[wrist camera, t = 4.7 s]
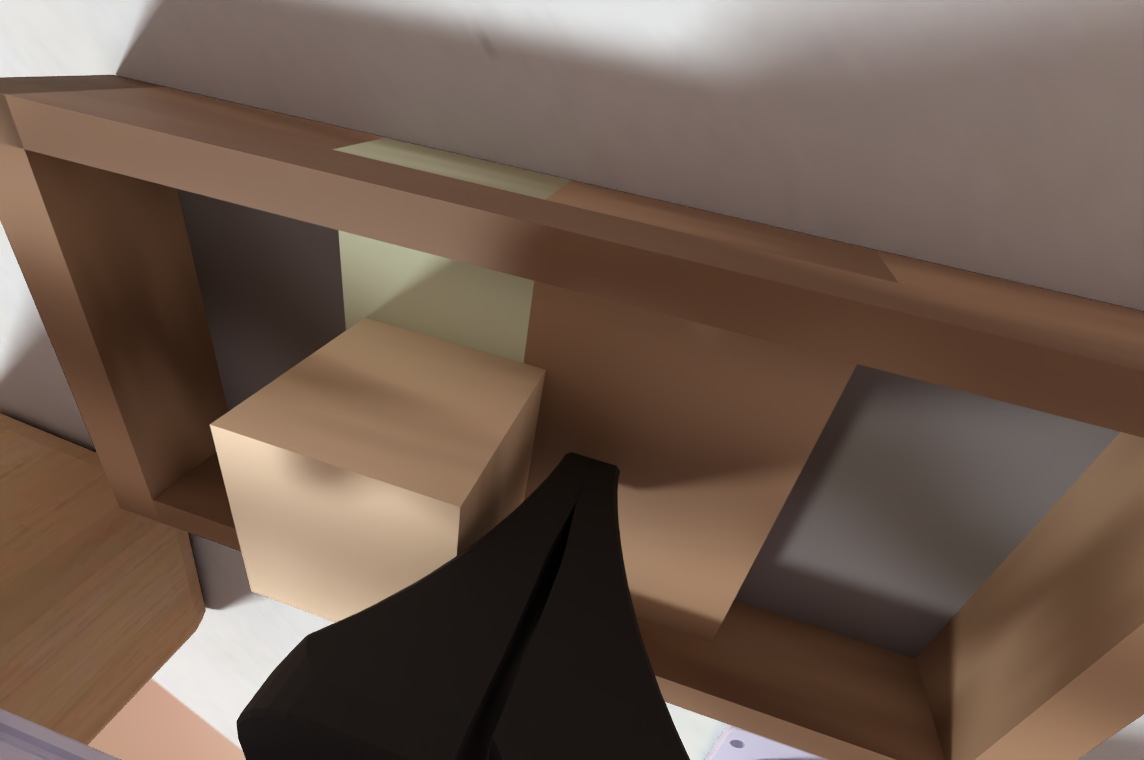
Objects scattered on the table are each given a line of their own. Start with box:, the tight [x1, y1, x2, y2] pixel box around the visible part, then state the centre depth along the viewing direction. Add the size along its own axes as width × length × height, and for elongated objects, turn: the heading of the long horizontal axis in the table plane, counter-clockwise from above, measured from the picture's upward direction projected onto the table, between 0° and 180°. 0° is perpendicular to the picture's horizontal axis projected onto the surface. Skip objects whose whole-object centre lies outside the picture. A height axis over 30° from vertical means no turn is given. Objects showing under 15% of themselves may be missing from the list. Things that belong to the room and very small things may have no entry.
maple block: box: [210, 318, 546, 623], centre depth 12 cm, size 4×4×4 cm
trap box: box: [0, 75, 1144, 760], centre depth 14 cm, size 12×26×4 cm, turn 80°
